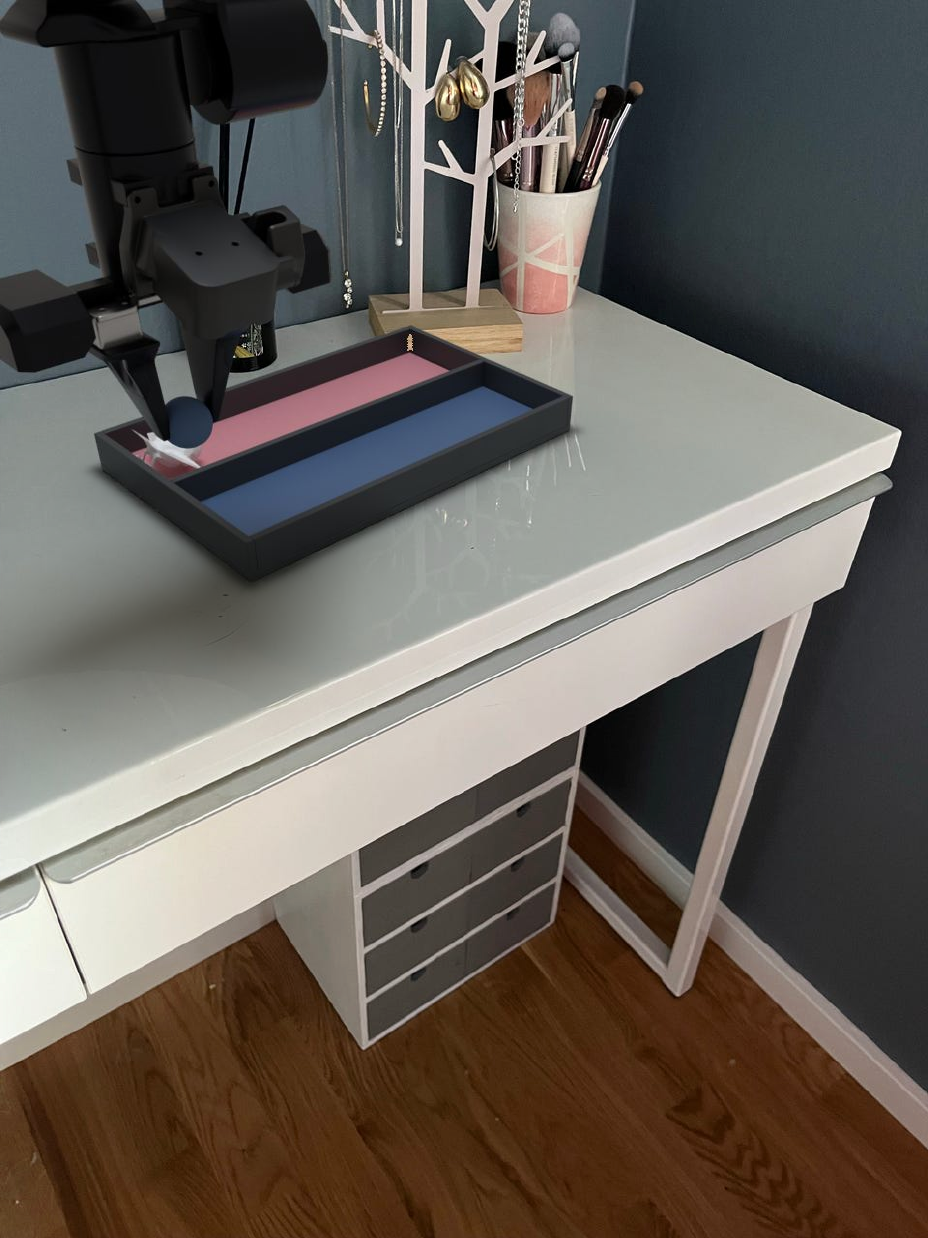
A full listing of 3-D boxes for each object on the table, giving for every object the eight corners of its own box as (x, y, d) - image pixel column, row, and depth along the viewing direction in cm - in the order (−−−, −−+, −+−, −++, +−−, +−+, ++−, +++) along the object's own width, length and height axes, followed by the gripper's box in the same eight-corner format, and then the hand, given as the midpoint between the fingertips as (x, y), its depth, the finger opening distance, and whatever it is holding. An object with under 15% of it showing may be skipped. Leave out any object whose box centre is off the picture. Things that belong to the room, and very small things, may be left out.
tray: (251, 582, 65) (246, 543, 63) (101, 469, 76) (93, 433, 74) (570, 429, 83) (573, 395, 81) (411, 356, 94) (410, 324, 92)
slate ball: (181, 463, 57) (172, 416, 55) (154, 444, 59) (144, 398, 57) (226, 445, 58) (218, 399, 57) (198, 428, 60) (190, 382, 58)
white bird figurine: (234, 471, 74) (205, 424, 70) (184, 510, 72) (152, 464, 69) (182, 431, 78) (152, 385, 75) (134, 467, 77) (102, 421, 73)
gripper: (23, 219, 39) (108, 549, 48) (389, 140, 49) (398, 426, 59) (-86, 161, 45) (9, 464, 55) (258, 102, 55) (286, 366, 65)
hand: (187, 429), depth 58 cm, fingers closed on slate ball, 3 cm apart
